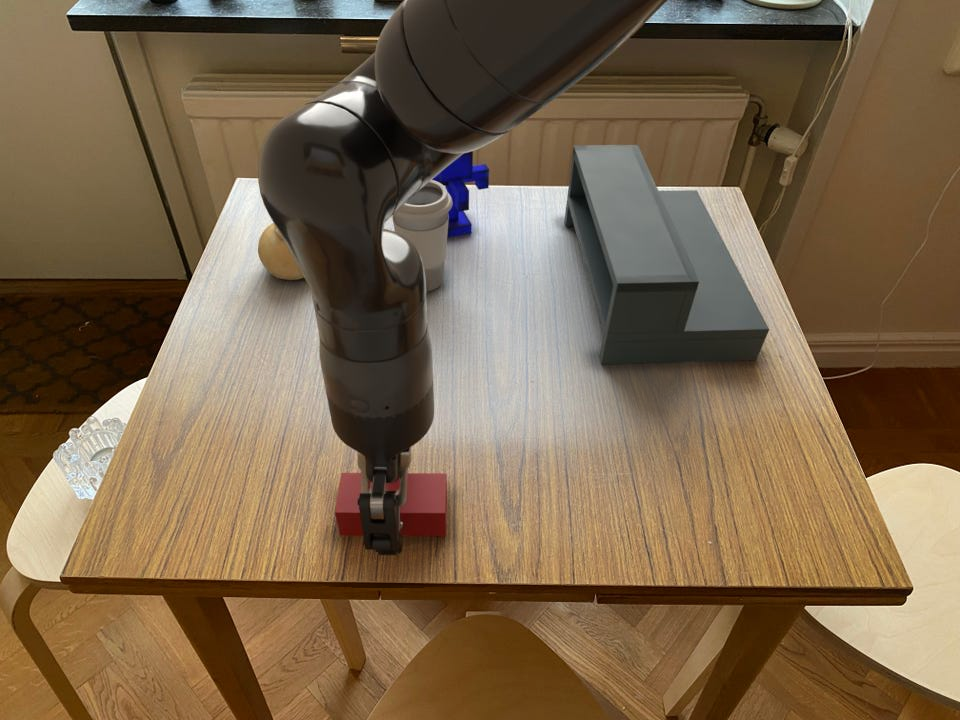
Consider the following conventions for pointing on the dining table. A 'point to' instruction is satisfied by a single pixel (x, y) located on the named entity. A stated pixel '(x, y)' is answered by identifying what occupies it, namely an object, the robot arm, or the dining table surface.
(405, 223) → the cup
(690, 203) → the shelf
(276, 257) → the onion
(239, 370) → the dining table surface
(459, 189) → the figurine
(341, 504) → the red rectangular block
